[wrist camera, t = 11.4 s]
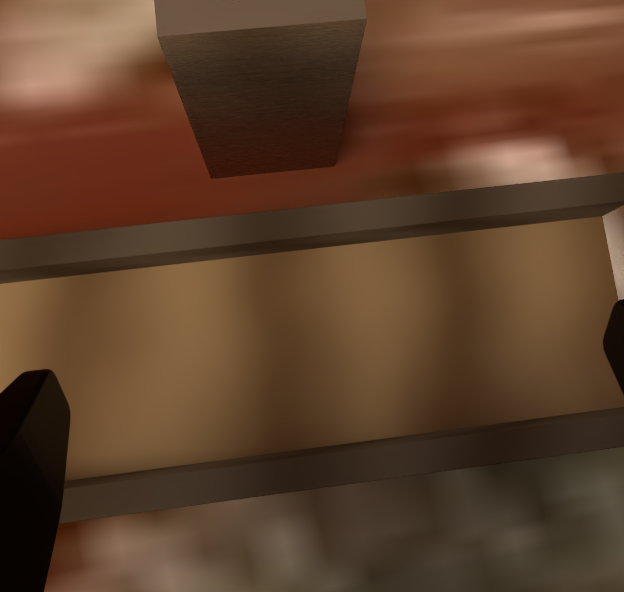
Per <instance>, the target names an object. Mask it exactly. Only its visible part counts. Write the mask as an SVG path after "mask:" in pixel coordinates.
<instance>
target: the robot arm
mask: <svg viewBox="0 0 624 592" xmlns="http://www.w3.org/2000/svg"><path fill="white" fill-rule="evenodd" d="M603 349H604V352H605V355H606V357H607V359H608V362H609V364H610V366H611V368H612V371H613V373H614V375H615V377H616V380H617V382H618V384H619V386H620V388H621V391H622V393H623V395H624V299H623V300H619V301H617V302H616V303H615V304H614V306H613V308H612V311H611V314H610V317H609V320H608V324H607V327H606V330H605V333H604V336H603ZM70 422H71V412H70V407H69V404H68V401H67V399H66V397H65V394H64V392H63V390H62V388H61V386H60V383H59V381H58V379H57V377H56V375H55V373H54V372H53V371H52V370H50V369H40V370H32V371H26V372H23V373H22V374H20V375H19V376H18V377H17V378H16V379H15V380H14V381H13V382H12V383H11V384H9V385H8V386H7V387H6V388H5V389H4V390H3V391H2V392H1V393H0V592H44V589H45V584H46V580H47V575H48V571H49V566H50V562H51V557H52V553H53V548H54V543H55V539H56V534H57V530H58V525H59V520H60V515H61V510H62V502H63V494H64V484H65V474H66V463H67V453H68V442H69V432H70Z"/></svg>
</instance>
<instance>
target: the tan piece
mask: <svg viewBox="0 0 624 592" xmlns="http://www.w3.org/2000/svg"><path fill="white" fill-rule="evenodd" d="M623 205H624V173H615V174H606V175H597V176H588V177H579V178H569V179H560V180H551V181H542V182H532V183H523V184H514V185H505V186H495V187H486V188H477V189H468V190H459V191H449V192H440V193H431V194H422V195H412V196H403V197H394V198H385V199H375V200H366V201H357V202H348V203H339V204H329V205H320V206H311V207H302V208H292V209H283V210H274V211H265V212H255V213H246V214H237V215H228V216H219V217H209V218H200V219H191V220H182V221H172V222H163V223H154V224H145V225H135V226H126V227H117V228H108V229H99V230H89V231H80V232H71V233H62V234H52V235H43V236H34V237H25V238H15V239H6V240H0V393H1V392H2V391H3V390H4V389H5V388H6V387H7V386H8V385H9V384H11V383H12V382H13V381H14V380H15V379H16V378H17V377H18V376H19V375H20V374H22V373H23V372H26V371H32V370H40V369H50V370H52V371H53V372H54V373H55V375H56V377H57V379H58V381H59V383H60V386H61V388H62V390H63V392H64V394H65V397H66V399H67V401H68V404H69V407H70V412H71V422H70V432H69V442H68V453H67V463H66V474H65V484H64V494H63V502H62V510H61V515H60V520H59V524H60V523H68V522H75V521H82V520H90V519H97V518H104V517H112V516H119V515H126V514H134V513H141V512H148V511H155V510H163V509H170V508H177V507H185V506H192V505H199V504H207V503H214V502H221V501H229V500H236V499H243V498H251V497H258V496H265V495H273V494H280V493H287V492H295V491H302V490H309V489H317V488H324V487H331V486H339V485H346V484H353V483H361V482H368V481H375V480H383V479H390V478H397V477H405V476H412V475H419V474H427V473H434V472H441V471H449V470H456V469H463V468H470V467H478V466H485V465H492V464H500V463H507V462H514V461H522V460H529V459H536V458H544V457H551V456H558V455H566V454H573V453H580V452H588V451H595V450H602V449H610V448H617V447H624V395H623V393H622V391H621V388H620V386H619V384H618V382H617V380H616V377H615V375H614V373H613V371H612V368H611V366H610V364H609V362H608V359H607V357H606V355H605V352H604V349H603V336H604V333H605V330H606V327H607V324H608V320H609V317H610V314H611V311H612V308H613V306H614V304H615V303H616V302H617V301H618V296H617V291H616V286H615V281H614V275H613V270H612V265H611V260H610V255H609V250H608V245H607V239H606V234H605V229H604V224H603V219H602V216H603V215H605V214H607V213H609V212H611V211H613V210H615V209H617V208H619V207H621V206H623Z"/></svg>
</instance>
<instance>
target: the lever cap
mask: <svg viewBox="0 0 624 592" xmlns="http://www.w3.org/2000/svg"><path fill="white" fill-rule="evenodd" d="M154 3H155V14H156V25H157V36H158V39H159V42H160V44H161V47H162V50H163V52H164V55H165V58H166V60H167V63H168V66H169V68H170V71H171V74H172V76H173V79H174V82H175V84H176V87H177V90H178V92H179V95H180V98H181V100H182V103H183V106H184V108H185V111H186V114H187V116H188V119H189V122H190V124H191V127H192V130H193V132H194V135H195V138H196V140H197V143H198V146H199V148H200V151H201V154H202V156H203V159H204V162H205V164H206V167H207V169H208V172H209V175H210V177H211V179H213V178H223V177H233V176H243V175H253V174H263V173H273V172H283V171H292V170H302V169H312V168H322V167H332V166H334V165H335V160H336V156H337V151H338V147H339V142H340V138H341V133H342V129H343V124H344V120H345V115H346V111H347V106H348V102H349V97H350V93H351V88H352V84H353V79H354V75H355V70H356V66H357V61H358V57H359V52H360V48H361V43H362V39H363V34H364V30H365V25H366V21H367V15H366V8H365V1H364V0H154Z"/></svg>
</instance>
